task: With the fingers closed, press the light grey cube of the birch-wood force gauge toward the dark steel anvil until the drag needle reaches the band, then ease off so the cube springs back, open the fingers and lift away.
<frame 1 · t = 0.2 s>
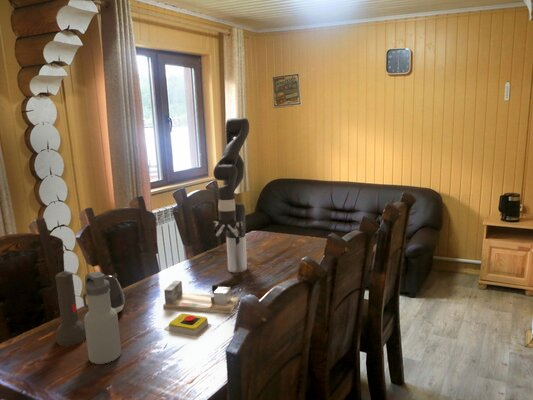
hand: (228, 244, 198), 17 cm above the table, tool pointing down, fingers open, 8 cm apart
hand tool: (228, 287, 194), on the table
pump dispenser: (112, 312, 172), on the table
light grey cube: (222, 295, 173), point 4 cm above the table, slide at 0.0 cm
emergency button: (188, 329, 157), on the table
flashlight: (72, 339, 151), on the table
drag pointer: (213, 299, 172), point 3 cm above the table, slide at 0.0 cm
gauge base: (201, 304, 176), on the table
water bottle: (105, 357, 140), on the table
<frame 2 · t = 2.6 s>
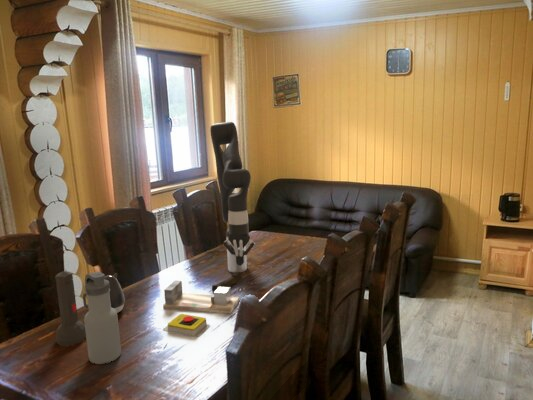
hand: (240, 264, 169), 18 cm above the table, tool pointing down, fingers closed
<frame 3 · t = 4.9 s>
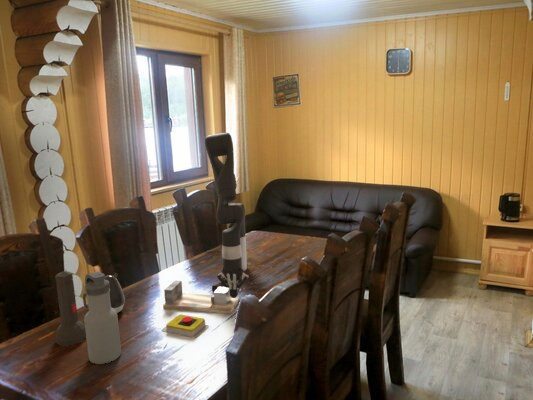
hand: (233, 297, 172), 4 cm above the table, tool pointing down, fingers closed
light grey cube: (222, 295, 173), point 4 cm above the table, slide at 0.0 cm, touching gripper
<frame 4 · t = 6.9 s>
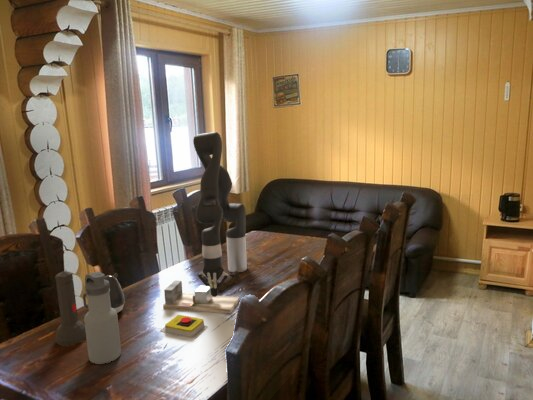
hand: (214, 295, 174), 4 cm above the table, tool pointing down, fingers closed
light grey cube: (203, 294, 175), point 4 cm above the table, slide at 8.0 cm, touching drag pointer, gripper
drag pointer: (195, 298, 174), point 3 cm above the table, slide at 7.7 cm, touching light grey cube
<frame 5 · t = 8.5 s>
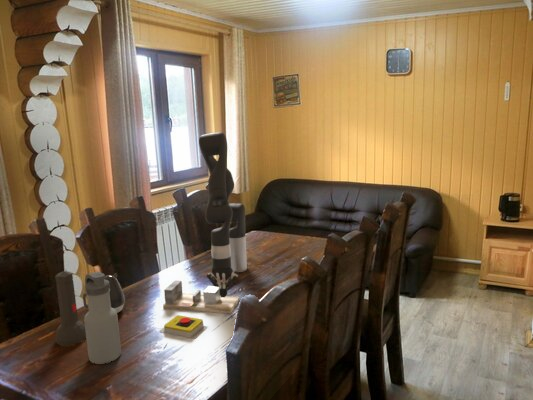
hand: (223, 296, 173), 4 cm above the table, tool pointing down, fingers closed
light grey cube: (212, 295, 174), point 4 cm above the table, slide at 4.3 cm, touching gripper
drag pointer: (195, 298, 174), point 3 cm above the table, slide at 7.7 cm
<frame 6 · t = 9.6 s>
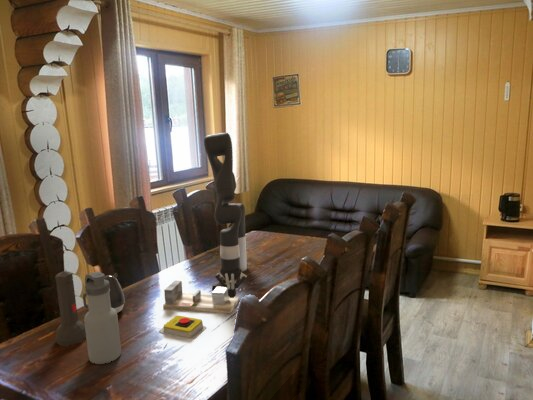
hand: (232, 297, 172), 4 cm above the table, tool pointing down, fingers closed
light grey cube: (220, 295, 173), point 4 cm above the table, slide at 0.8 cm
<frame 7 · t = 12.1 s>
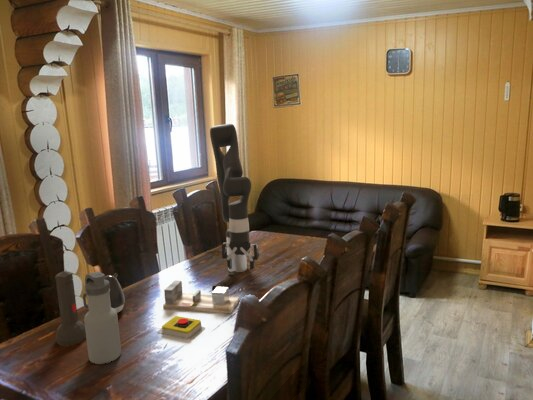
hand: (241, 269, 169), 16 cm above the table, tool pointing down, fingers open, 8 cm apart
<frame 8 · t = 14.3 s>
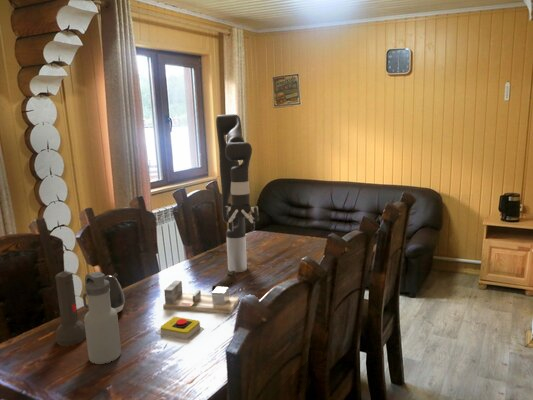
hand: (242, 231, 178), 28 cm above the table, tool pointing down, fingers open, 8 cm apart
at the end: drag pointer slide at 7.7 cm; light grey cube slide at 0.8 cm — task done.
